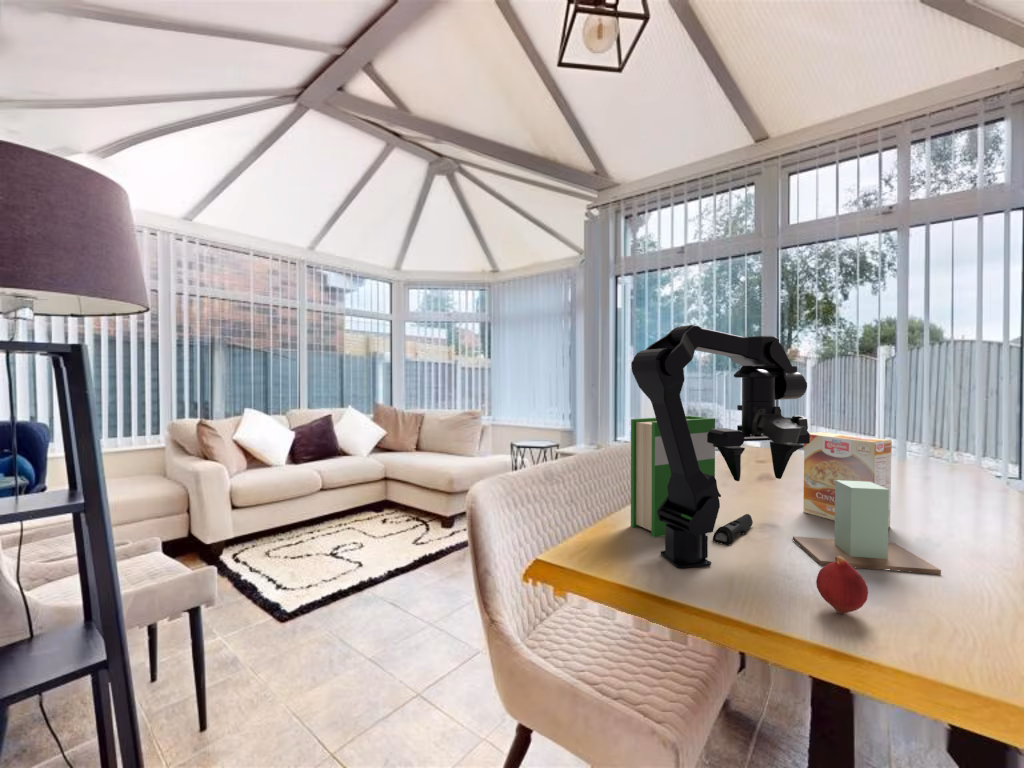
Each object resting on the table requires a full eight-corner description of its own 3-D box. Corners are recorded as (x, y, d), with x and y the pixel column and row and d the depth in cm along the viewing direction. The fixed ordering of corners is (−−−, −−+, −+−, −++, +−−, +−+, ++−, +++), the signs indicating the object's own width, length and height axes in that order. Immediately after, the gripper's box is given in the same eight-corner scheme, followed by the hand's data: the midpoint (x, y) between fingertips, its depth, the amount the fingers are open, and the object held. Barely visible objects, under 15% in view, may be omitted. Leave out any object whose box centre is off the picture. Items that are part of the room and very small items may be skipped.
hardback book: (654, 537, 91) (655, 422, 91) (630, 526, 98) (630, 419, 98) (714, 524, 99) (715, 418, 98) (688, 515, 106) (689, 415, 105)
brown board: (820, 565, 78) (820, 541, 78) (792, 540, 89) (792, 519, 89) (940, 574, 74) (941, 549, 74) (895, 547, 86) (895, 525, 86)
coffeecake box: (802, 512, 107) (802, 432, 107) (819, 508, 110) (820, 431, 110) (873, 532, 94) (874, 441, 93) (891, 527, 97) (892, 439, 96)
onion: (845, 601, 65) (845, 548, 65) (878, 623, 60) (879, 565, 59) (807, 602, 65) (807, 549, 65) (837, 624, 59) (837, 566, 59)
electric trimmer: (757, 529, 97) (757, 515, 97) (730, 547, 87) (730, 531, 87) (739, 525, 100) (739, 511, 100) (710, 542, 89) (710, 526, 89)
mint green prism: (850, 556, 80) (851, 487, 79) (834, 544, 85) (835, 480, 85) (887, 559, 78) (888, 489, 78) (868, 546, 84) (869, 481, 84)
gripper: (744, 404, 77) (743, 493, 77) (835, 402, 80) (834, 487, 80) (705, 400, 88) (705, 478, 88) (787, 399, 91) (786, 473, 91)
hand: (757, 479), depth 87 cm, fingers open, 9 cm apart
